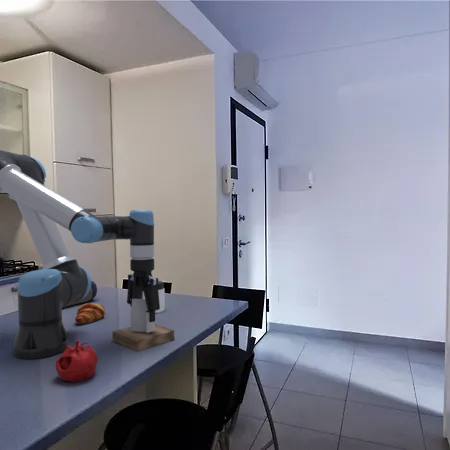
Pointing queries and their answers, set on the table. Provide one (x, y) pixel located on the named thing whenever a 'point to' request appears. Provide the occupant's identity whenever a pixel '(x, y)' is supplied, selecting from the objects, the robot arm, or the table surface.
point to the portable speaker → (88, 295)
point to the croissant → (90, 313)
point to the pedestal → (143, 337)
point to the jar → (160, 297)
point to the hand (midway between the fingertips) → (143, 328)
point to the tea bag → (138, 315)
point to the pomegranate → (76, 363)
